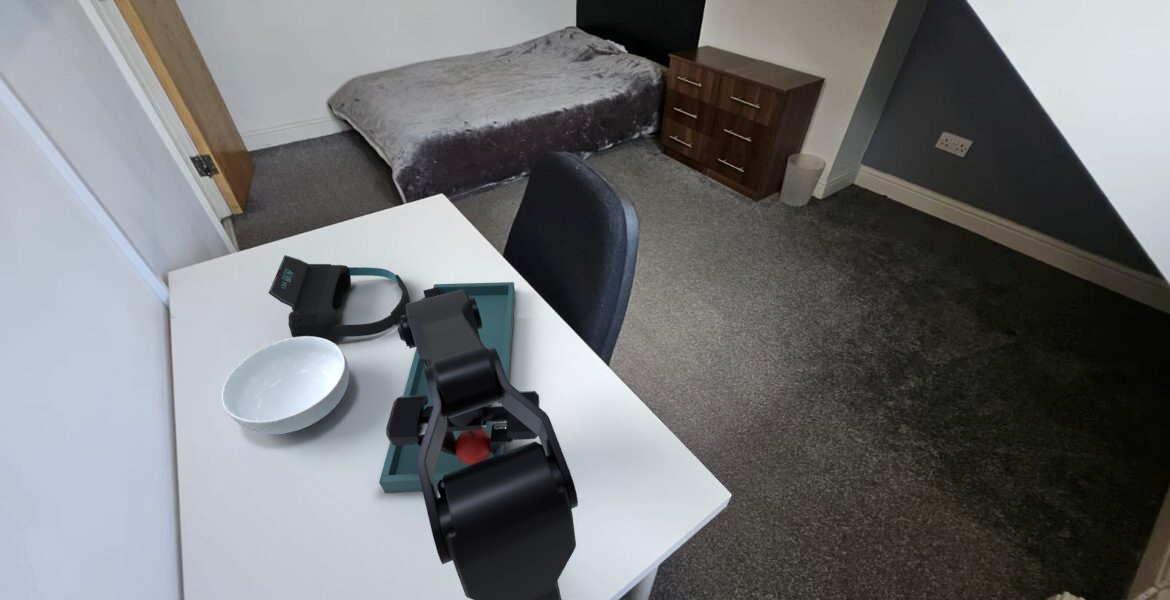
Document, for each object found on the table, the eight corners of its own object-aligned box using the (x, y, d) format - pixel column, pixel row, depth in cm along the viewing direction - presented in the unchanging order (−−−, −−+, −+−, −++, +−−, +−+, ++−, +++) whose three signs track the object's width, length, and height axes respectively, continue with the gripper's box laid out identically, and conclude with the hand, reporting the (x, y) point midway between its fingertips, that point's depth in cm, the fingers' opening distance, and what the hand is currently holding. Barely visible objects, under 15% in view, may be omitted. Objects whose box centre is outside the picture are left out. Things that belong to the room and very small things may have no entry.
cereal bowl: (218, 446, 70) (193, 418, 65) (278, 361, 82) (260, 333, 78) (331, 452, 69) (313, 424, 65) (374, 366, 82) (362, 337, 77)
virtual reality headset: (298, 284, 96) (288, 243, 90) (412, 284, 103) (409, 245, 96) (275, 349, 83) (261, 306, 76) (408, 344, 89) (404, 303, 83)
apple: (492, 470, 65) (487, 448, 61) (455, 472, 65) (448, 449, 61) (495, 439, 69) (490, 415, 65) (460, 440, 68) (454, 417, 65)
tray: (501, 487, 66) (498, 476, 64) (384, 493, 65) (378, 482, 63) (515, 293, 97) (514, 281, 95) (436, 295, 96) (434, 284, 94)
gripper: (537, 330, 62) (542, 401, 73) (393, 335, 61) (419, 406, 71) (535, 398, 54) (541, 468, 64) (369, 405, 53) (402, 475, 63)
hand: (475, 451), depth 66 cm, fingers closed on apple, 5 cm apart
